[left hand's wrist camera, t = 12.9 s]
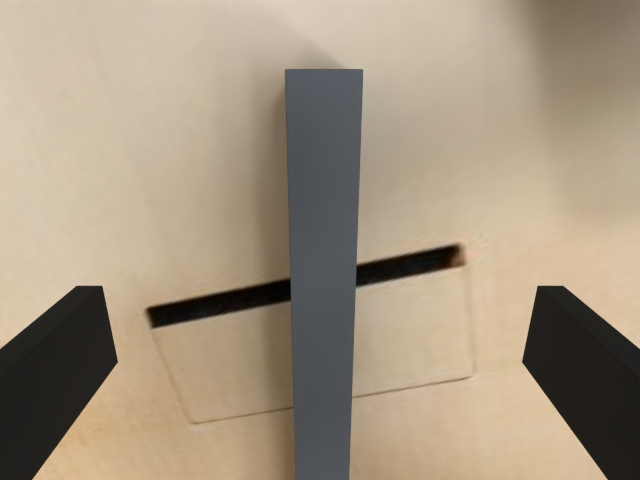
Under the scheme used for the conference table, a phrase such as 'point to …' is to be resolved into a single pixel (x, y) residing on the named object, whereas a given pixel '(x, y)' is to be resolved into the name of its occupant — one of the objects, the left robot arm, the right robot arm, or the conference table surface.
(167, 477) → the conference table surface
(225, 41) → the conference table surface
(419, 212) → the conference table surface
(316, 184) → the beam
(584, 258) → the conference table surface
